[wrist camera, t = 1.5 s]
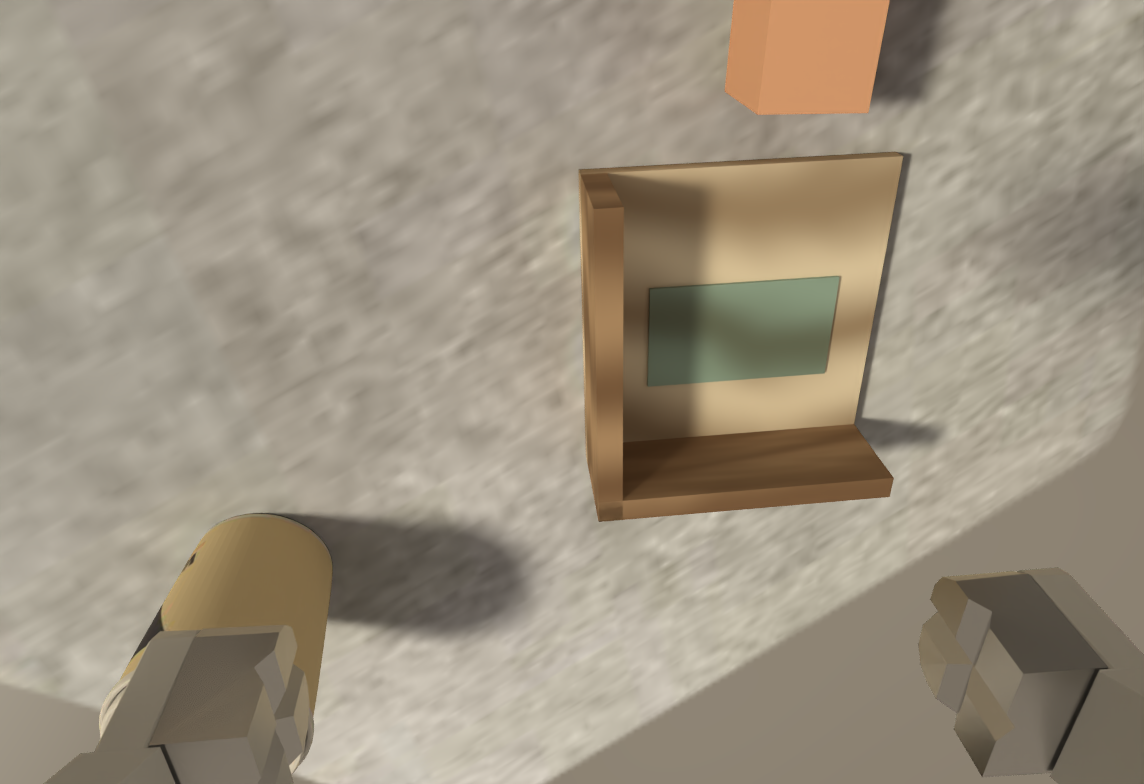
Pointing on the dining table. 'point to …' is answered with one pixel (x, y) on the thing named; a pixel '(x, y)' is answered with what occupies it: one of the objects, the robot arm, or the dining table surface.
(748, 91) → the brick
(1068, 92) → the dining table surface
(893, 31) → the dining table surface
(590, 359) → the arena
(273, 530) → the coffee cup
